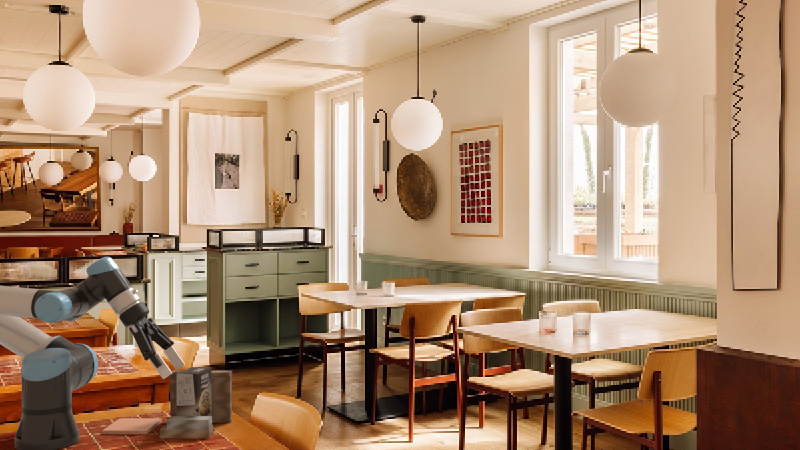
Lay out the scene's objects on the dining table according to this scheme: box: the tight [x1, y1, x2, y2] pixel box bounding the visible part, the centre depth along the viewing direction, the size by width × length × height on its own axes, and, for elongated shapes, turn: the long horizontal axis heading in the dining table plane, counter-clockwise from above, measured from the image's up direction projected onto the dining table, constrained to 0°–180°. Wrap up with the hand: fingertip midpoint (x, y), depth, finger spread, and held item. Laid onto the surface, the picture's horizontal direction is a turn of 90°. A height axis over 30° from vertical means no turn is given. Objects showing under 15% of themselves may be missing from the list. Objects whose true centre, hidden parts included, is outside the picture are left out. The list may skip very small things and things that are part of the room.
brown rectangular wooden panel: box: [168, 369, 233, 423], centre depth 218 cm, size 17×3×14 cm, turn 89°
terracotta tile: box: [102, 417, 163, 435], centre depth 212 cm, size 12×12×1 cm
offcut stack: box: [159, 416, 214, 439], centre depth 205 cm, size 13×4×5 cm, turn 89°
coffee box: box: [177, 366, 212, 416], centre depth 212 cm, size 9×6×16 cm
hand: (174, 371), depth 211 cm, fingers open, 13 cm apart
